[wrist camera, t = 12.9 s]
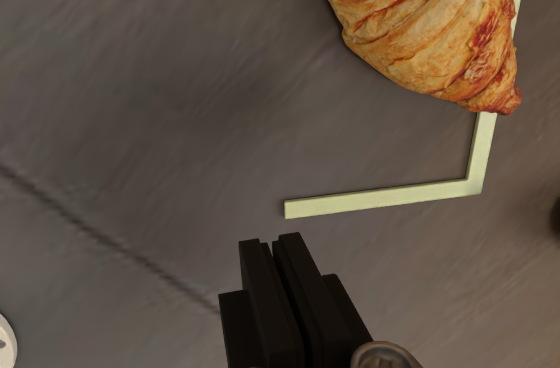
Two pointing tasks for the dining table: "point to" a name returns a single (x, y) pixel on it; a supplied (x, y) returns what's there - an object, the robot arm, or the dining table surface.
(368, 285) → the dining table surface
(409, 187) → the frame
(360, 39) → the croissant
